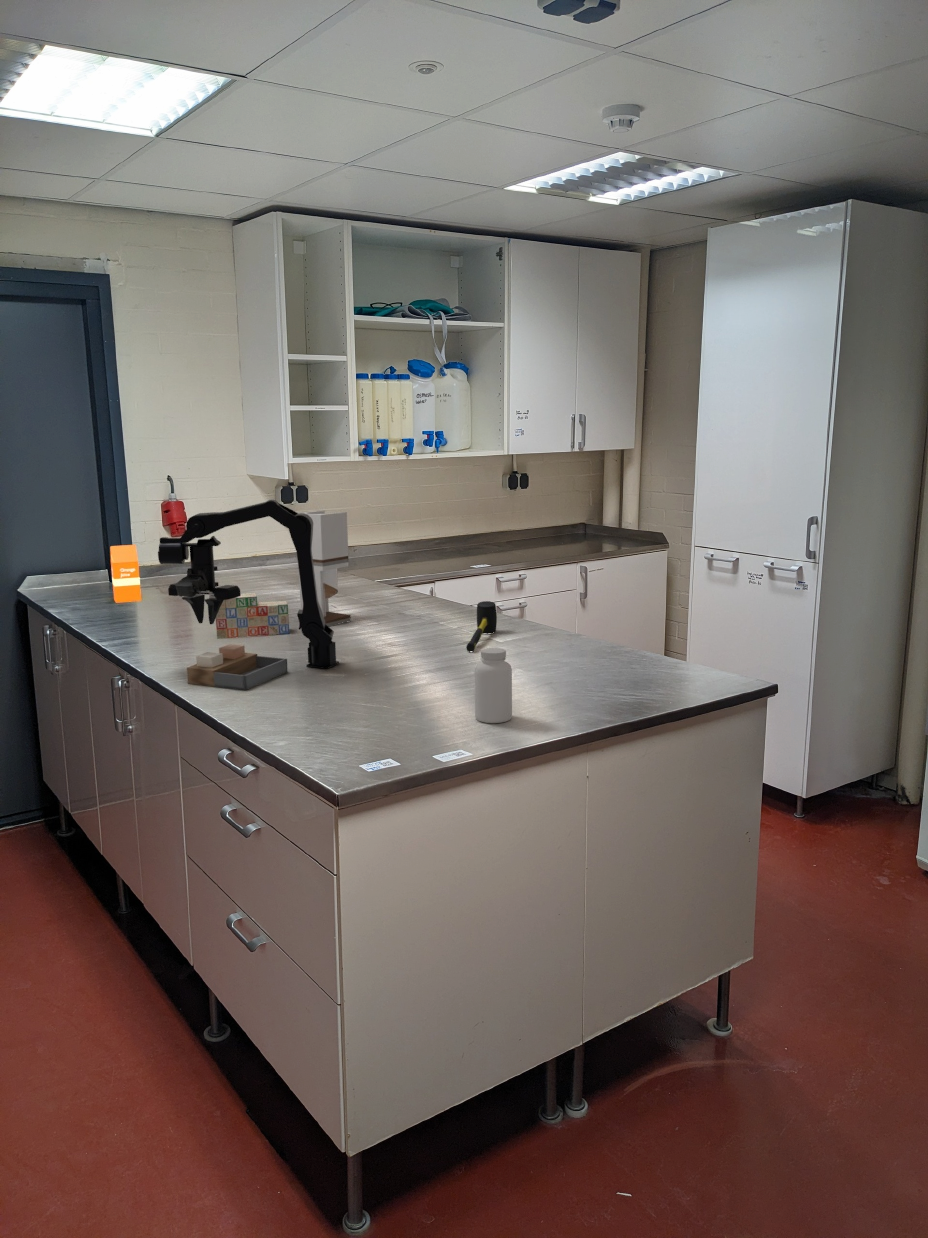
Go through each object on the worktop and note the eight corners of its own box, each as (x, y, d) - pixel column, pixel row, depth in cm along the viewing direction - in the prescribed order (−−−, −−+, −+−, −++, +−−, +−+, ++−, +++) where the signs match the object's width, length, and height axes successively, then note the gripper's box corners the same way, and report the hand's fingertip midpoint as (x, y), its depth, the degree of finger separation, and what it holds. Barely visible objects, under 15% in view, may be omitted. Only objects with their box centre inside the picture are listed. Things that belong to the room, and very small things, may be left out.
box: (287, 672, 241) (286, 658, 241) (245, 690, 225) (244, 676, 224) (258, 668, 245) (257, 655, 244) (214, 686, 228) (213, 672, 228)
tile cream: (223, 663, 235) (222, 653, 234) (211, 667, 231) (211, 657, 230) (208, 661, 236) (207, 652, 236) (196, 665, 232) (196, 656, 232)
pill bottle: (510, 712, 206) (510, 645, 203) (513, 724, 198) (513, 654, 195) (474, 713, 206) (473, 646, 203) (475, 724, 198) (475, 655, 195)
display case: (325, 627, 294) (320, 514, 287) (301, 623, 300) (296, 513, 293) (350, 621, 303) (346, 511, 296) (327, 617, 309) (322, 510, 302)
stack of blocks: (287, 630, 291) (285, 590, 289) (289, 634, 285) (287, 594, 283) (216, 634, 286) (213, 594, 283) (216, 639, 280) (214, 598, 277)
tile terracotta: (244, 655, 243) (244, 645, 242) (234, 659, 239) (233, 649, 238) (230, 653, 244) (229, 644, 244) (219, 657, 240) (219, 648, 240)
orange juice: (113, 599, 345) (109, 545, 341) (139, 597, 349) (134, 543, 345) (115, 602, 338) (111, 547, 334) (141, 600, 342) (137, 545, 338)
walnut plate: (258, 668, 245) (257, 653, 244) (214, 686, 228) (213, 670, 228) (232, 666, 248) (231, 651, 247) (187, 683, 232) (186, 667, 231)
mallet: (481, 654, 259) (481, 619, 257) (459, 653, 260) (459, 619, 258) (498, 631, 287) (498, 600, 285) (478, 630, 288) (478, 599, 286)
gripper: (151, 566, 236) (155, 627, 239) (212, 570, 229) (216, 632, 232) (180, 560, 246) (184, 618, 249) (240, 563, 239) (243, 624, 242)
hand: (206, 623), depth 243 cm, fingers open, 3 cm apart
